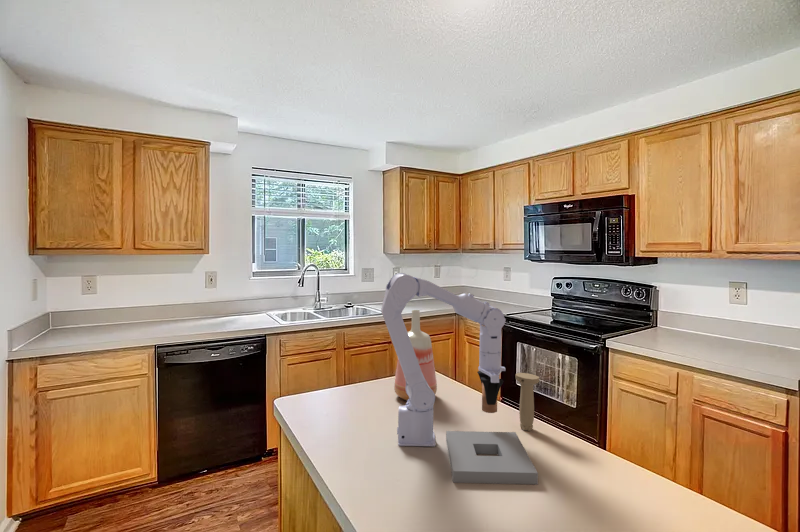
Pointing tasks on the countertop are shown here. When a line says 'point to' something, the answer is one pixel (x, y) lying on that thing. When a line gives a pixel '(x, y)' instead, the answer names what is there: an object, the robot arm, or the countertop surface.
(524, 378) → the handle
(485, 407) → the peg
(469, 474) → the socket plate
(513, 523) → the countertop surface
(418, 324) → the vase
